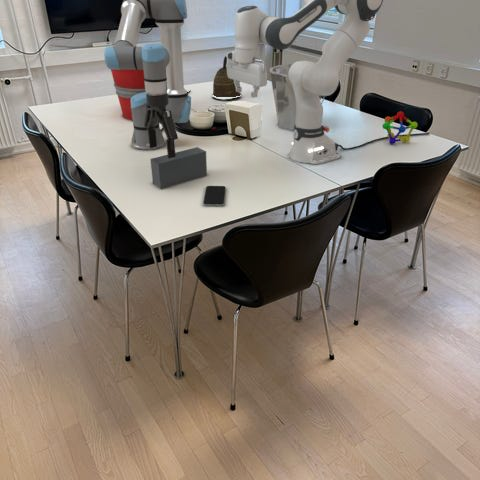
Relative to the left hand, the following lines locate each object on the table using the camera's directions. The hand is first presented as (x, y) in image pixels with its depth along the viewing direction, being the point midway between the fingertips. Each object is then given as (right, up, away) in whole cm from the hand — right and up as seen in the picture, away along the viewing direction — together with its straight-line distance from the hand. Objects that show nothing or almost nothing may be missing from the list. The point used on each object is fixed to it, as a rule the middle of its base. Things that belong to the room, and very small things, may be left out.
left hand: (162, 152), depth 163 cm
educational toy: (+103, +14, +47) cm, 114 cm away
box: (+5, -9, +11) cm, 15 cm away
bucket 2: (+58, +28, +70) cm, 95 cm away
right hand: (+31, +23, +6) cm, 39 cm away
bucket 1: (-24, +38, +85) cm, 96 cm away
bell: (+20, +58, +118) cm, 133 cm away
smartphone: (+20, -17, -2) cm, 26 cm away
